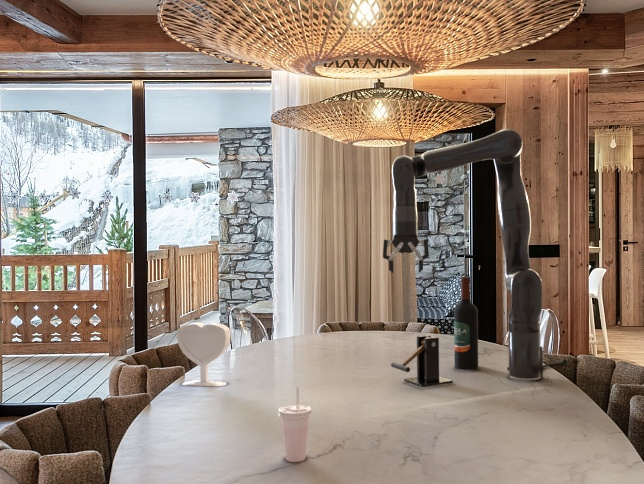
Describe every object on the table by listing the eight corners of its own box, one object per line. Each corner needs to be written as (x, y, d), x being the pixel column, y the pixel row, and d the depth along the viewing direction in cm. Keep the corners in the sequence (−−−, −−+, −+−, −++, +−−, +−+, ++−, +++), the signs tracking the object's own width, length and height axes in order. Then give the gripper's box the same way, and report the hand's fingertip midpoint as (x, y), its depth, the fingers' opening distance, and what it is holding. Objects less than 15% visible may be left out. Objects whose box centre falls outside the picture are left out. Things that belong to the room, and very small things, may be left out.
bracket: (421, 389, 170) (420, 340, 170) (404, 383, 178) (403, 336, 178) (452, 384, 176) (452, 337, 176) (434, 378, 184) (434, 333, 184)
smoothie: (305, 466, 114) (304, 391, 114) (273, 462, 115) (272, 389, 115) (316, 454, 120) (315, 383, 120) (286, 451, 122) (285, 382, 121)
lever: (408, 374, 169) (404, 368, 168) (393, 369, 176) (389, 363, 175) (440, 345, 174) (437, 338, 174) (425, 341, 181) (421, 334, 181)
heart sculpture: (176, 384, 179) (175, 324, 179) (184, 380, 184) (183, 321, 184) (225, 386, 176) (224, 325, 176) (232, 382, 181) (231, 322, 181)
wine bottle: (481, 371, 193) (480, 277, 193) (458, 372, 192) (457, 277, 192) (473, 366, 201) (472, 276, 200) (451, 367, 199) (450, 276, 199)
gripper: (427, 220, 192) (427, 271, 192) (382, 221, 193) (382, 272, 193) (429, 219, 185) (429, 273, 185) (382, 220, 185) (383, 273, 185)
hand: (405, 272), depth 189 cm, fingers open, 8 cm apart
